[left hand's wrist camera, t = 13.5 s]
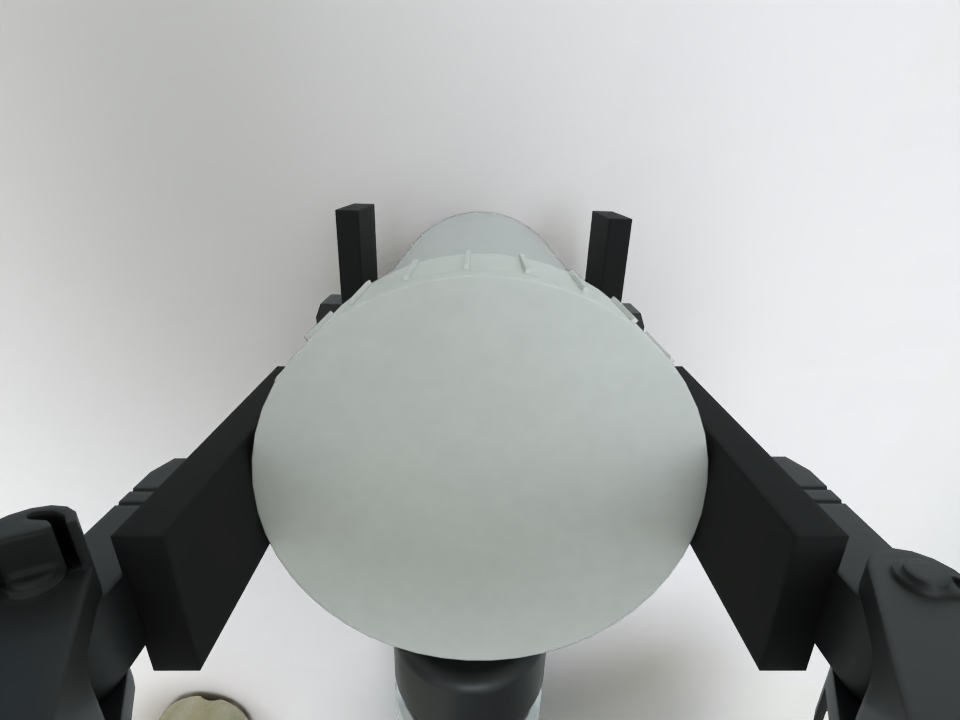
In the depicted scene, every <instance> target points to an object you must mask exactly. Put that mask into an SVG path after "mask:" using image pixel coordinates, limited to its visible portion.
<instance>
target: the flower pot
mask: <svg viewBox="0 0 960 720" xmlns="http://www.w3.org/2000/svg"><path fill="white" fill-rule="evenodd" d="M159 720H248V719H247V717H246V716H245V714H244V713H243V712H242V711H241V710H239V709H238V708H237V707H236V706H234V705H233V704H231V703H229V702H227V701H224V700H215V701H209V700H205V699H203V698H202V697H201V696H192V697H187V698H183V699H181V700H178V701H176V702H174V703H173V704H172V705H170V706H169V707H168V708H167V709H166V710H165V712H164V713H163V715H162V716H161V718H160V719H159Z"/></svg>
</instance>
